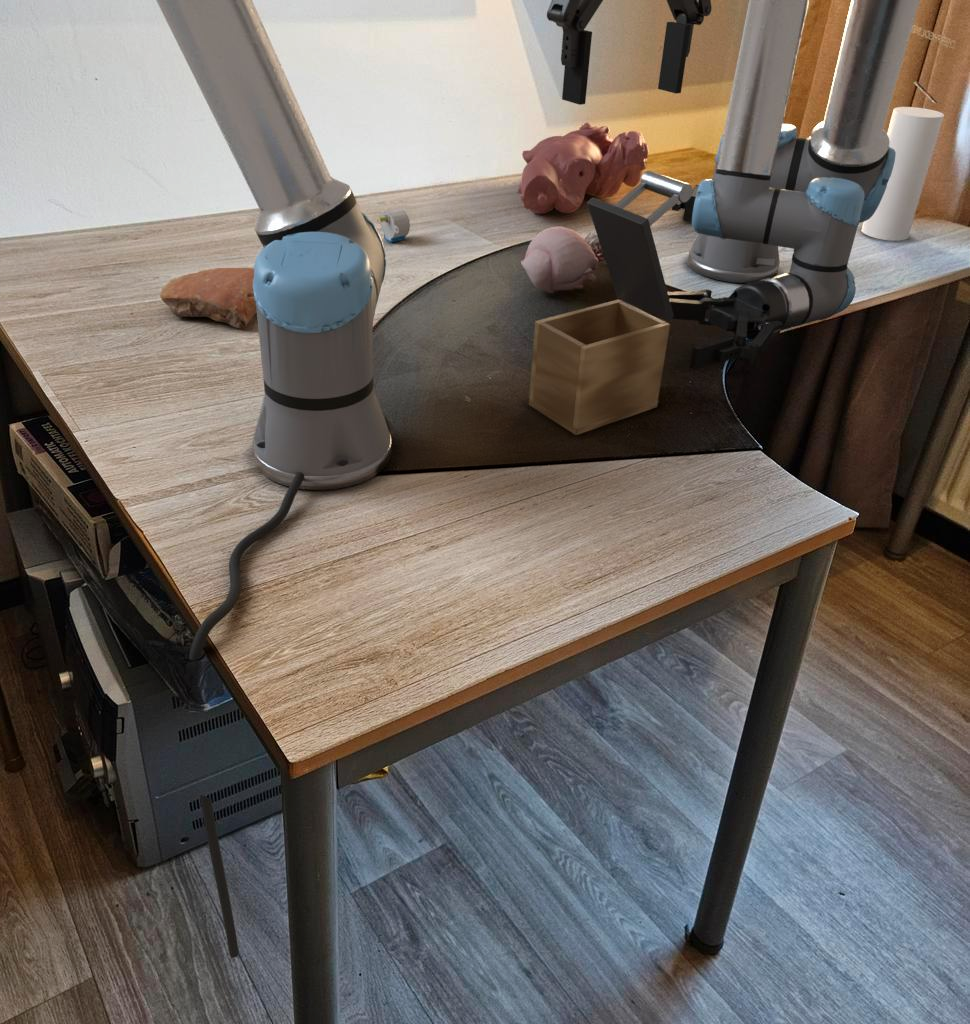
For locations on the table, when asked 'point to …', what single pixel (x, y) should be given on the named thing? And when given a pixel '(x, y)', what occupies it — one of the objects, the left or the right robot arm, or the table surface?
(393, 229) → the electric motor
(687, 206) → the toy
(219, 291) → the ceramic shard
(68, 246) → the table surface
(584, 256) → the toy
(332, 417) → the left robot arm
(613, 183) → the reddish clay figurine
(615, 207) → the lid
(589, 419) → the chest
